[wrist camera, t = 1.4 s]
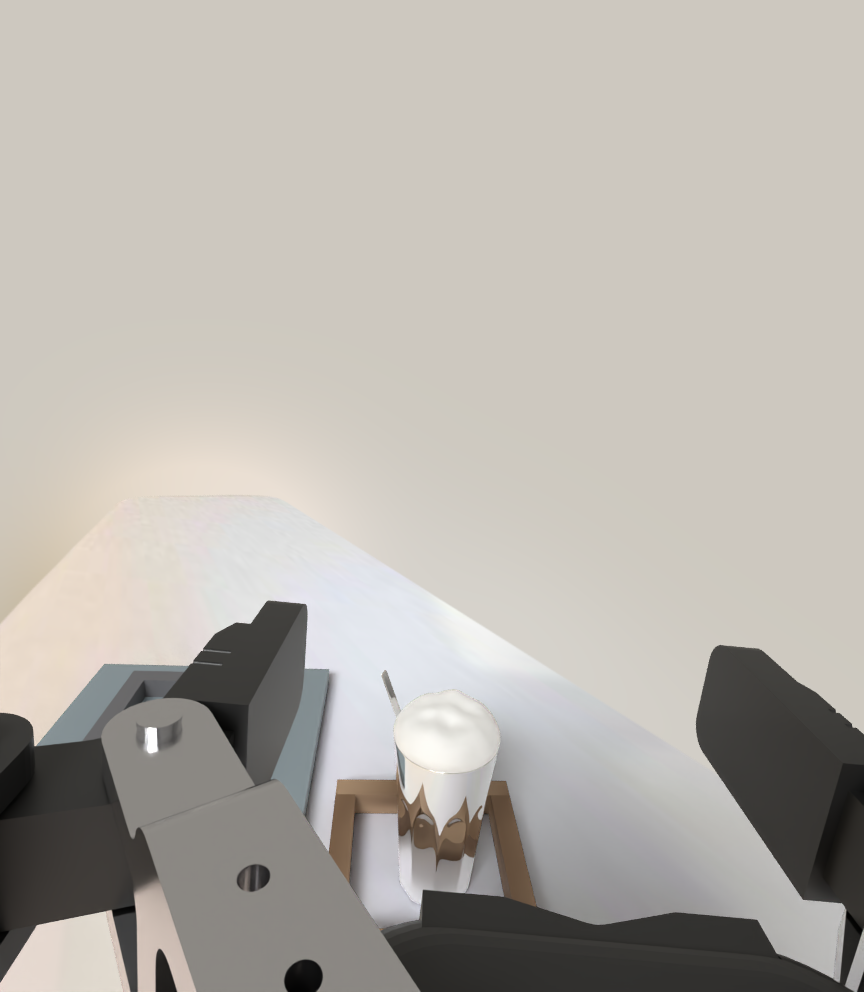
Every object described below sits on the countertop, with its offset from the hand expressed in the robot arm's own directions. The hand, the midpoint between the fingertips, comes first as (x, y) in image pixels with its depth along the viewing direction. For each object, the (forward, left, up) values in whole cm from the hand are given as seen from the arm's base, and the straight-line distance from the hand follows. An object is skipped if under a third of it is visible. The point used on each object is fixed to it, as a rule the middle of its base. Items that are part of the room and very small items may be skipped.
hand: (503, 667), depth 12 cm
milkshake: (0, -11, -18) cm, 22 cm away
